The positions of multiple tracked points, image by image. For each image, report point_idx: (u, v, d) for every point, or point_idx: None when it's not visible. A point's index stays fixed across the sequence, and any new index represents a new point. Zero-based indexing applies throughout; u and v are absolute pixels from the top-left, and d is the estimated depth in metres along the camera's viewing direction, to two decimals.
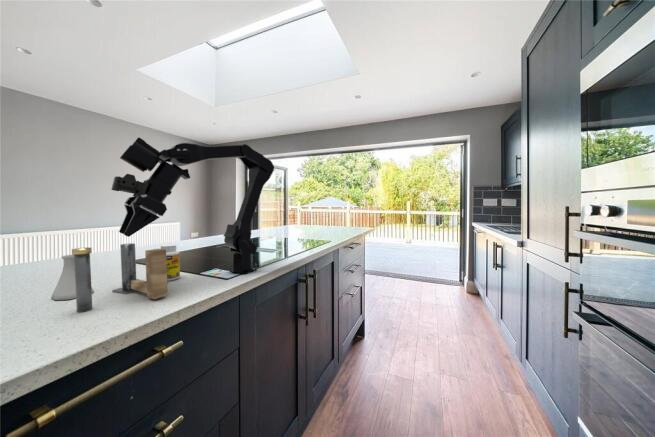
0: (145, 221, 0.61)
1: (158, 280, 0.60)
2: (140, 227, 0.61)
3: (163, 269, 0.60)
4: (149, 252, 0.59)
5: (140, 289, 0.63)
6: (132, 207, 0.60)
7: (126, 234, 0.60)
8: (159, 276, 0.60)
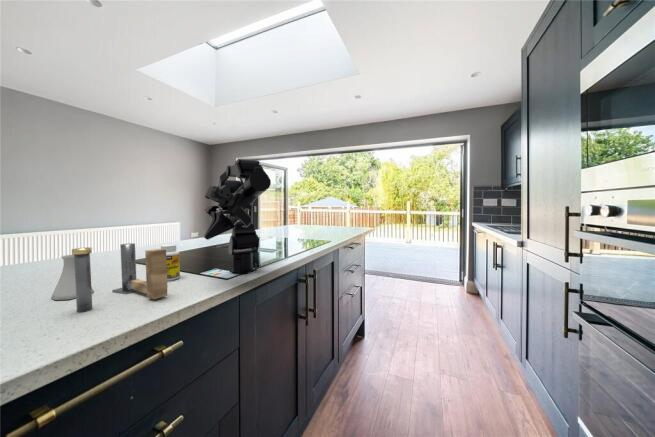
0: (223, 228, 0.70)
1: (158, 280, 0.60)
2: (218, 233, 0.69)
3: (163, 269, 0.60)
4: (149, 252, 0.59)
5: (140, 289, 0.63)
6: (216, 215, 0.69)
7: (206, 237, 0.68)
8: (159, 276, 0.60)
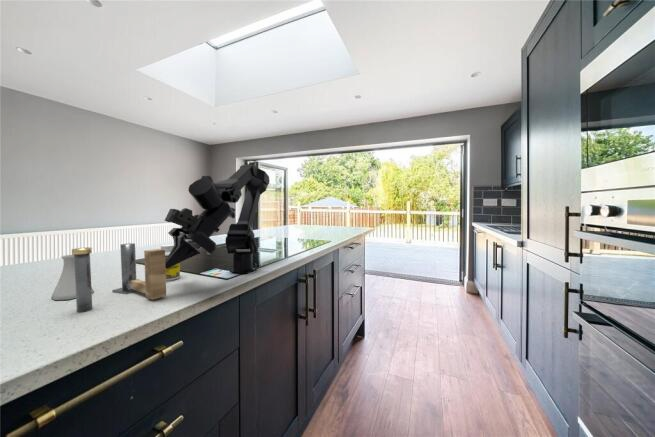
0: (186, 255, 0.63)
1: (157, 280, 0.59)
2: (180, 260, 0.63)
3: (162, 269, 0.60)
4: (148, 252, 0.59)
5: (139, 289, 0.63)
6: (178, 240, 0.62)
7: (166, 266, 0.61)
8: (158, 276, 0.60)
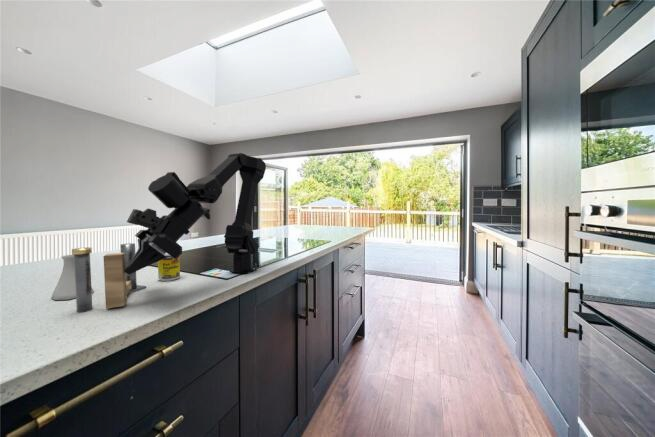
0: (151, 260, 0.58)
1: (111, 288, 0.54)
2: (144, 265, 0.58)
3: (118, 276, 0.54)
4: None
5: None
6: (141, 243, 0.57)
7: (127, 271, 0.56)
8: (113, 284, 0.54)
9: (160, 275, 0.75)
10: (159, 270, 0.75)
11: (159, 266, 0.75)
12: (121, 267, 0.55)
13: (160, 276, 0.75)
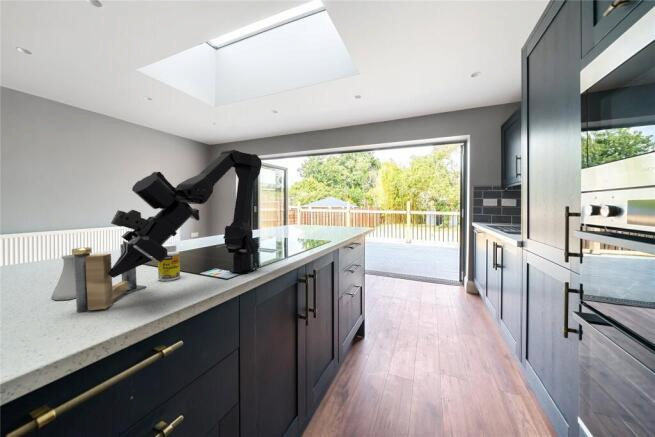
0: (136, 262, 0.56)
1: (93, 290, 0.53)
2: (129, 268, 0.56)
3: (99, 278, 0.53)
4: None
5: None
6: (126, 246, 0.55)
7: (111, 275, 0.54)
8: (94, 285, 0.53)
9: (160, 275, 0.75)
10: (159, 270, 0.75)
11: (159, 266, 0.75)
12: (102, 269, 0.53)
13: (160, 276, 0.75)
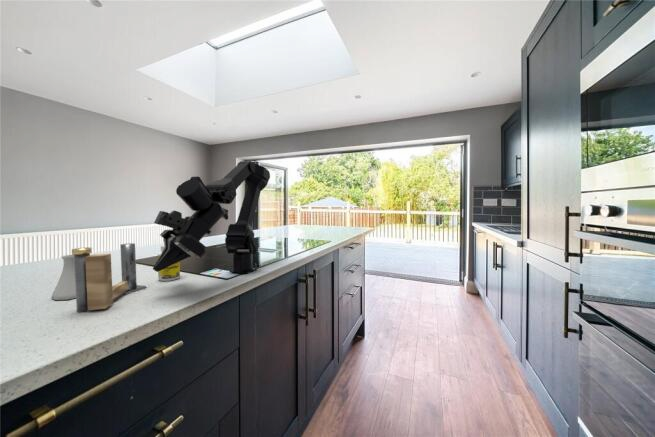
0: (176, 258, 0.62)
1: (93, 290, 0.53)
2: (170, 263, 0.62)
3: (99, 278, 0.53)
4: None
5: None
6: (168, 243, 0.61)
7: (155, 269, 0.60)
8: (94, 285, 0.53)
9: (160, 275, 0.75)
10: None
11: None
12: (102, 269, 0.53)
13: (160, 276, 0.75)
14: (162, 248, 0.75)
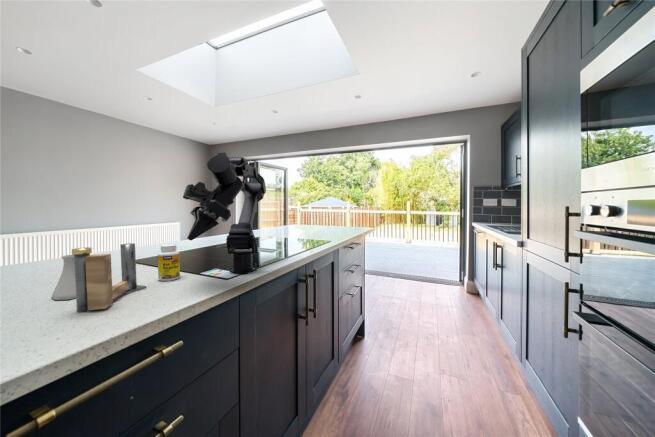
0: (206, 227, 0.67)
1: (93, 290, 0.53)
2: (201, 232, 0.67)
3: (99, 278, 0.53)
4: None
5: None
6: (197, 214, 0.67)
7: (189, 238, 0.66)
8: (94, 285, 0.53)
9: (160, 275, 0.75)
10: (159, 270, 0.75)
11: (159, 266, 0.75)
12: (102, 269, 0.53)
13: (160, 276, 0.75)
14: (162, 248, 0.75)
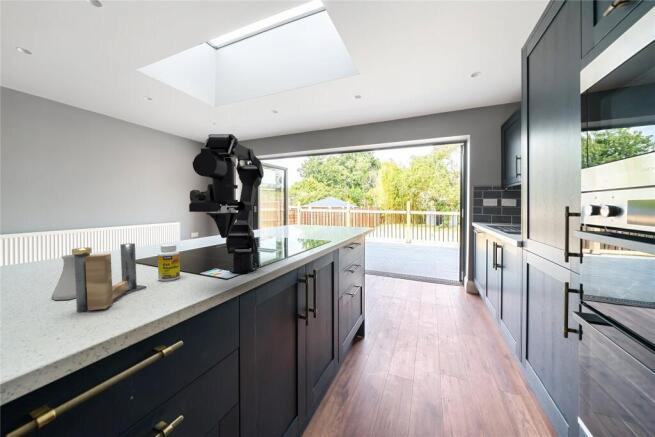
0: (223, 221, 0.69)
1: (93, 290, 0.53)
2: (224, 227, 0.69)
3: (99, 278, 0.53)
4: None
5: None
6: None
7: (222, 237, 0.70)
8: (94, 285, 0.53)
9: (160, 275, 0.75)
10: (159, 270, 0.75)
11: (159, 266, 0.75)
12: (102, 269, 0.53)
13: (160, 276, 0.75)
14: (162, 248, 0.75)
